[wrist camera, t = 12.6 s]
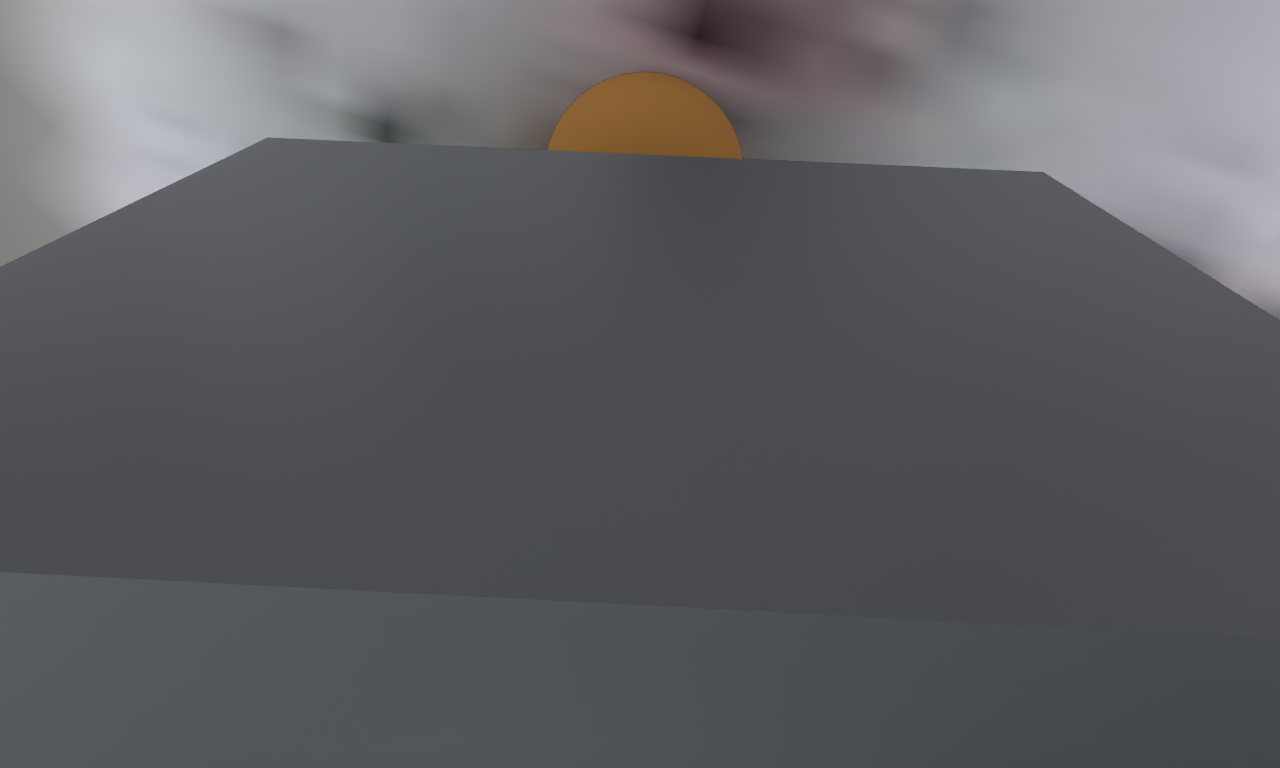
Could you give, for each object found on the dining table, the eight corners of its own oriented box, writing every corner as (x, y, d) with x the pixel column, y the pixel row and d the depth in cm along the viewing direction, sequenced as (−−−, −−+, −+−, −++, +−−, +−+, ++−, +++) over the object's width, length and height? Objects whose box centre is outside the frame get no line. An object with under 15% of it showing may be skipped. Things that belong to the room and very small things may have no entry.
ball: (536, 304, 23) (557, 155, 25) (725, 321, 23) (728, 172, 26) (527, 183, 19) (553, 15, 21) (760, 206, 19) (762, 37, 21)
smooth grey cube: (267, 137, 12) (-570, 543, 4) (1042, 171, 12) (1834, 666, 4) (352, 702, 16) (51, 1413, 8) (908, 731, 16) (1130, 1484, 8)
